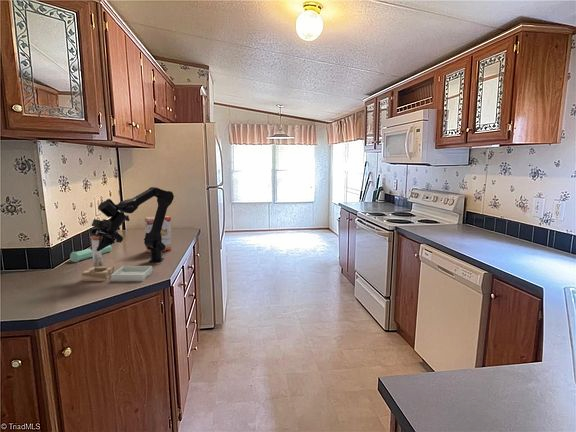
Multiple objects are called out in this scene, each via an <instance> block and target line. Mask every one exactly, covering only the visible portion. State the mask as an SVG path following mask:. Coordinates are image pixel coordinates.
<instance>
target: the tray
mask: <svg viewBox="0 0 576 432" xmlns="http://www.w3.org/2000/svg"><path fill="white" fill-rule="evenodd" d="M151 274H153V265H122V266H121V267H119V268H118V269H117V270H115V271H114V273H113V274H111V277H110V282H144V281H145V280H146V279H147V278H148V277H149V276H150V275H151Z"/></svg>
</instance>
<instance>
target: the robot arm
mask: <svg viewBox="0 0 576 432" xmlns="http://www.w3.org/2000/svg"><path fill="white" fill-rule="evenodd" d="M153 197H155V198H156V202H157V209H156V211H155V215H154V217H155V219H154V222H153V226H152V229H151V231H150V232H149V233H146V235H145V234H144V239H143V241H144V243H143V244H144V245H145V248H146V247H147V249H149V250H150V251H151V253H150V259H149V260H148V262H149V263H162V261H163V260H165V258H164V257H163V255H162V254H163V252H164V251H163V250H165V245H164V244H163V243H162V242H161V241H162V237H161V229H162V225H163V222H164V218H165V216H167V215H166V214H167V210H168V208H169V206H171V205H172V203H173V200H174V198H175V195H174V192H173V191H170V190H164V189H161V188H159V187H156V186H155V187H154V186H151V187H149V188H148V189H146V190H144V191H143V192H140V193H139V194H137V195H136V196H134V197H132V198H127V199H125V200H122V201H120V202H118V203H117V204H115V203H114V202H113V200H112V199H110V198H107V199H106V200H104V201H102V202H101V203H99V204H98V206H97V210H99V212H101V213H102V214H103V215H104V216H105V217H107V218H109V219H106V218H103V219H102V220H100V219H95V218H94V219H93V220H92V222H91V226H92V227H90V228H89V229H88V230H87V232H88V233H89V234H90V236H92V235H102V238H101V243H100V244H99V246H98V247H97V249H96V250H97V251H100V250H102V249H103V248H105V247H107V246H109V245H110V246H111V245H112V244H115V243H119V244H121V243H122V242H123V240H124V237H123V236H122V235H121V233H119V232H118V231H120V230H121V226H122V224H123V223H124V222H129V221H130V217H129V215H131V214H133V213H134V212H135V211H136V210H138V208H139V206H140V205H142V204H144V203H146V202H147V201H148V200H150V199H152V198H153ZM127 214H129V215H127ZM89 249H91V250H92V244H91V245H90V248H89Z"/></svg>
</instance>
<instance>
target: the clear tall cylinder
mask: <svg viewBox="0 0 576 432" xmlns="http://www.w3.org/2000/svg"><path fill="white" fill-rule="evenodd" d="M101 238H102V235H90V237H89V239H90V240H91V245H92V256H93V257H92V267H104V266H103V265H104V262H103V261H104V258H103V254H102V250H100V251H97V250H96V249H97V247H98V246H99V244H100V243H101ZM102 239H103V238H102Z"/></svg>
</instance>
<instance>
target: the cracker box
mask: <svg viewBox="0 0 576 432" xmlns="http://www.w3.org/2000/svg"><path fill="white" fill-rule="evenodd" d="M154 219H155V216H148V217H144V236H145V235H146V233H149V232H150V231H151V229H152V226H153V222H154ZM171 219H172V218H171V216H168V215H165V218H164V222H163V225H162V229H161V237H162V241H161V242H162V243H163V244H164V245H165V250H163V251H162V252H166V250H168V251H172V220H171ZM145 252H147V253H148V254H149V253H150V254H151V251H150V250H149V249H147V247H146V246H145Z"/></svg>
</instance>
